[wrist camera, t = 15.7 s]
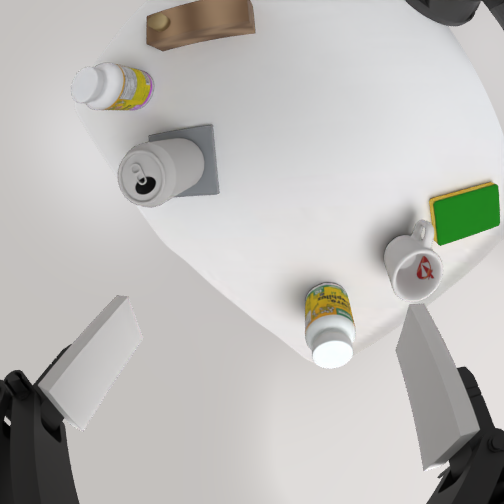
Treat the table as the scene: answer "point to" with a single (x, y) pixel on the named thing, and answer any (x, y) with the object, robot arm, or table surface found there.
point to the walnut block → (199, 23)
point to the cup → (413, 264)
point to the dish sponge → (465, 212)
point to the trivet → (207, 146)
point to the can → (159, 171)
